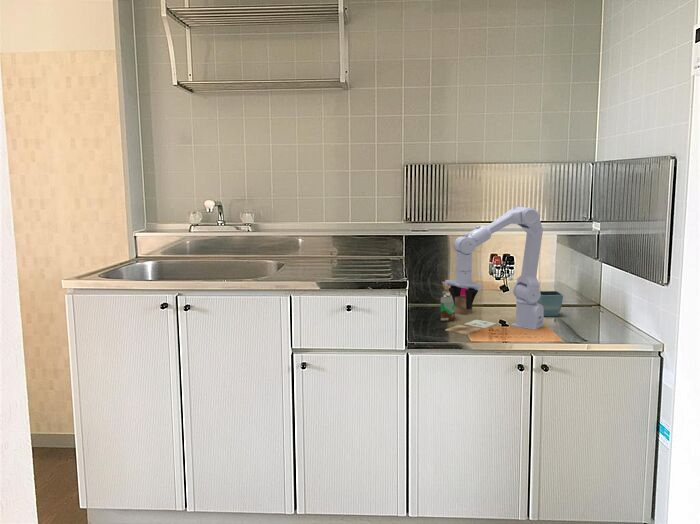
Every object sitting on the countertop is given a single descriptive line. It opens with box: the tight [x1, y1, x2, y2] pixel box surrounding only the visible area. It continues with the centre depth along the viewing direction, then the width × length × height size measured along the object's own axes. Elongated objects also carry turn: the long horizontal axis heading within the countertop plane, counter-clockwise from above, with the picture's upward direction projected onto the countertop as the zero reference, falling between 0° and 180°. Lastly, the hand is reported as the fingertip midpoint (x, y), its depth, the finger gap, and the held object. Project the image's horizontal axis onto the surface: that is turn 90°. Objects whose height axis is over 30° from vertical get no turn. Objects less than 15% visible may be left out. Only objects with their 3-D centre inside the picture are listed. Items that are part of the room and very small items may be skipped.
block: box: [455, 295, 473, 316], centre depth 229 cm, size 4×4×6 cm
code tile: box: [464, 319, 497, 329], centre depth 239 cm, size 9×9×1 cm
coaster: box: [444, 324, 481, 336], centre depth 230 cm, size 9×9×1 cm
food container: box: [440, 291, 456, 323], centre depth 246 cm, size 12×6×10 cm, turn 168°
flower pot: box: [537, 290, 564, 317], centre depth 251 cm, size 9×9×9 cm
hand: (463, 307), depth 229 cm, fingers closed on block, 4 cm apart
